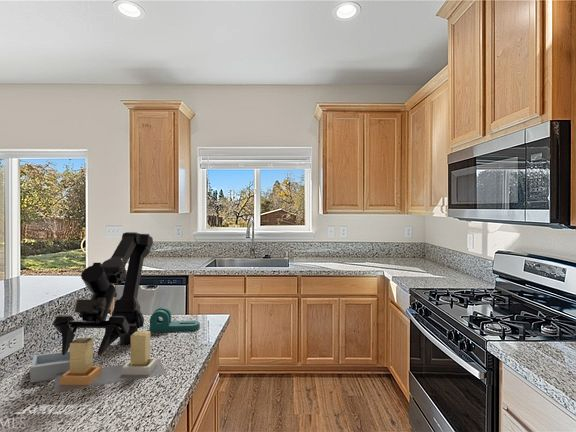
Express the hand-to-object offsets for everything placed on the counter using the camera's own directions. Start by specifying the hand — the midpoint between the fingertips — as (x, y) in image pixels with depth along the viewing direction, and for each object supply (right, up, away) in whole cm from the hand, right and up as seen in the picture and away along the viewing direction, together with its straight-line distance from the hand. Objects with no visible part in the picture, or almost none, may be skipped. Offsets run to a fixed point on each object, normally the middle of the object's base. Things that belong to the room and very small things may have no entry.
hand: (81, 354), depth 105 cm
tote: (-12, -8, +8) cm, 16 cm away
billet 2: (+13, -6, +7) cm, 16 cm away
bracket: (+11, -8, +50) cm, 52 cm away
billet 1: (0, -6, 0) cm, 6 cm away
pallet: (+6, -8, +3) cm, 10 cm away
